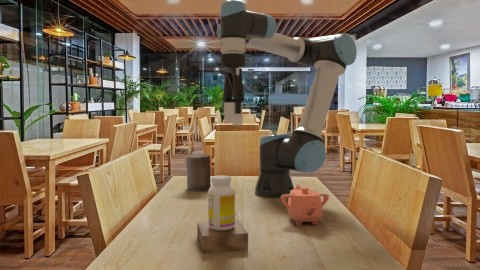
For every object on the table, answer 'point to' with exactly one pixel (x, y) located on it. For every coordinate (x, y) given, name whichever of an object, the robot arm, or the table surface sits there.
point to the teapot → (304, 205)
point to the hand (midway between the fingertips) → (232, 123)
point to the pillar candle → (198, 172)
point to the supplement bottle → (221, 204)
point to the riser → (222, 238)
